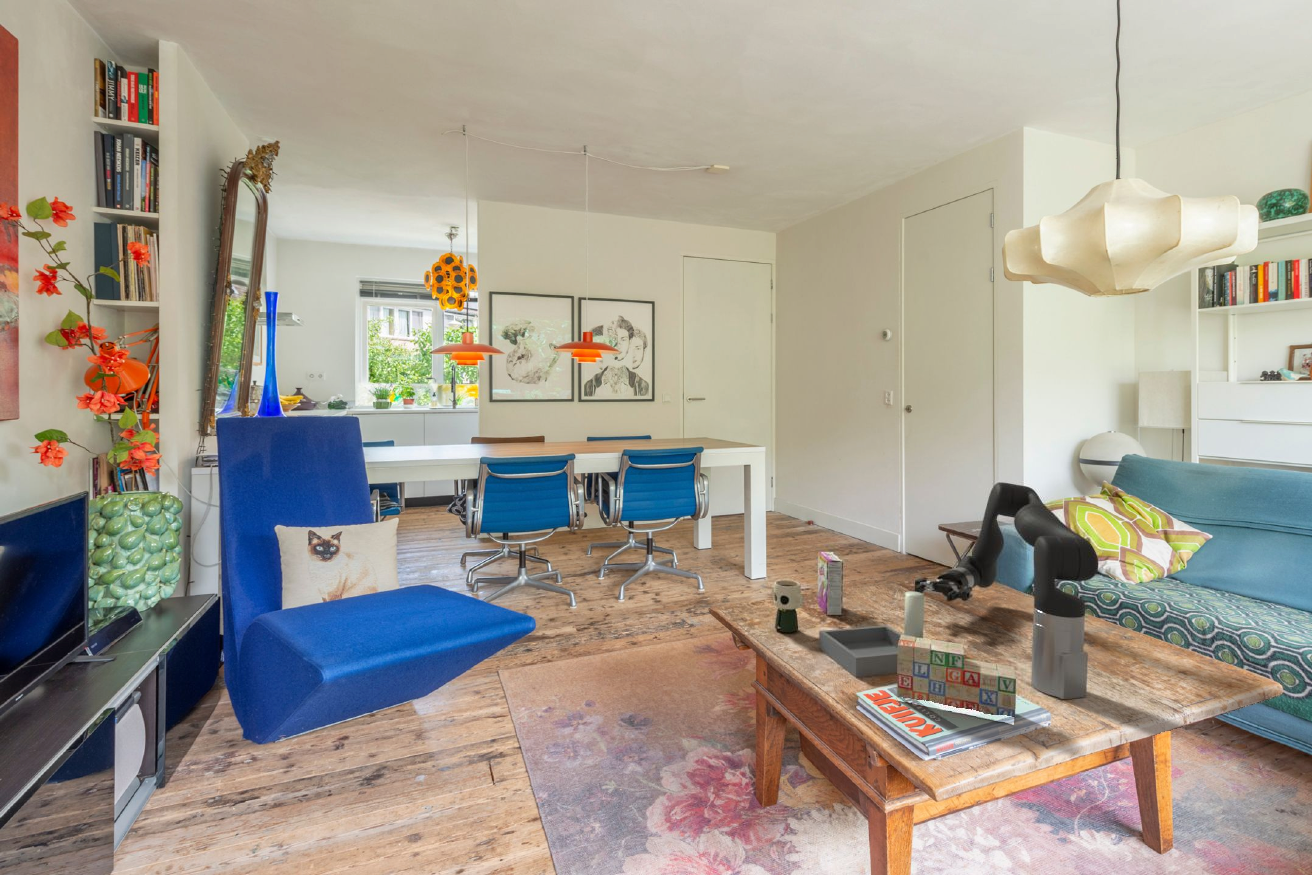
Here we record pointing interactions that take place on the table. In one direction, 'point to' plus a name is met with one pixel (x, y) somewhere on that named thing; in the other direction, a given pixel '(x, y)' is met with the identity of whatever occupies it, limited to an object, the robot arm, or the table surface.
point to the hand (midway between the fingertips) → (932, 594)
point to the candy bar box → (830, 583)
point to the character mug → (787, 604)
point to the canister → (914, 614)
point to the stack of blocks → (953, 677)
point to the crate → (862, 649)
